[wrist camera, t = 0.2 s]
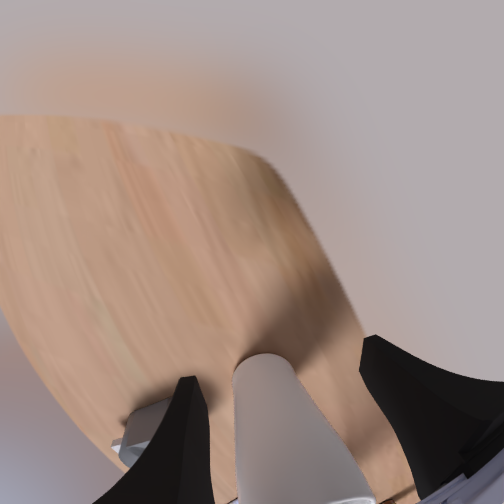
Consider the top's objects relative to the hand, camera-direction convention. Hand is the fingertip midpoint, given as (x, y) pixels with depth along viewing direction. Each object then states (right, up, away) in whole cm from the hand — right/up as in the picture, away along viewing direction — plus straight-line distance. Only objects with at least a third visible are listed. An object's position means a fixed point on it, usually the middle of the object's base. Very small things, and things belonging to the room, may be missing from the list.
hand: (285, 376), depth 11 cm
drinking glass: (-1, -5, +12) cm, 13 cm away
